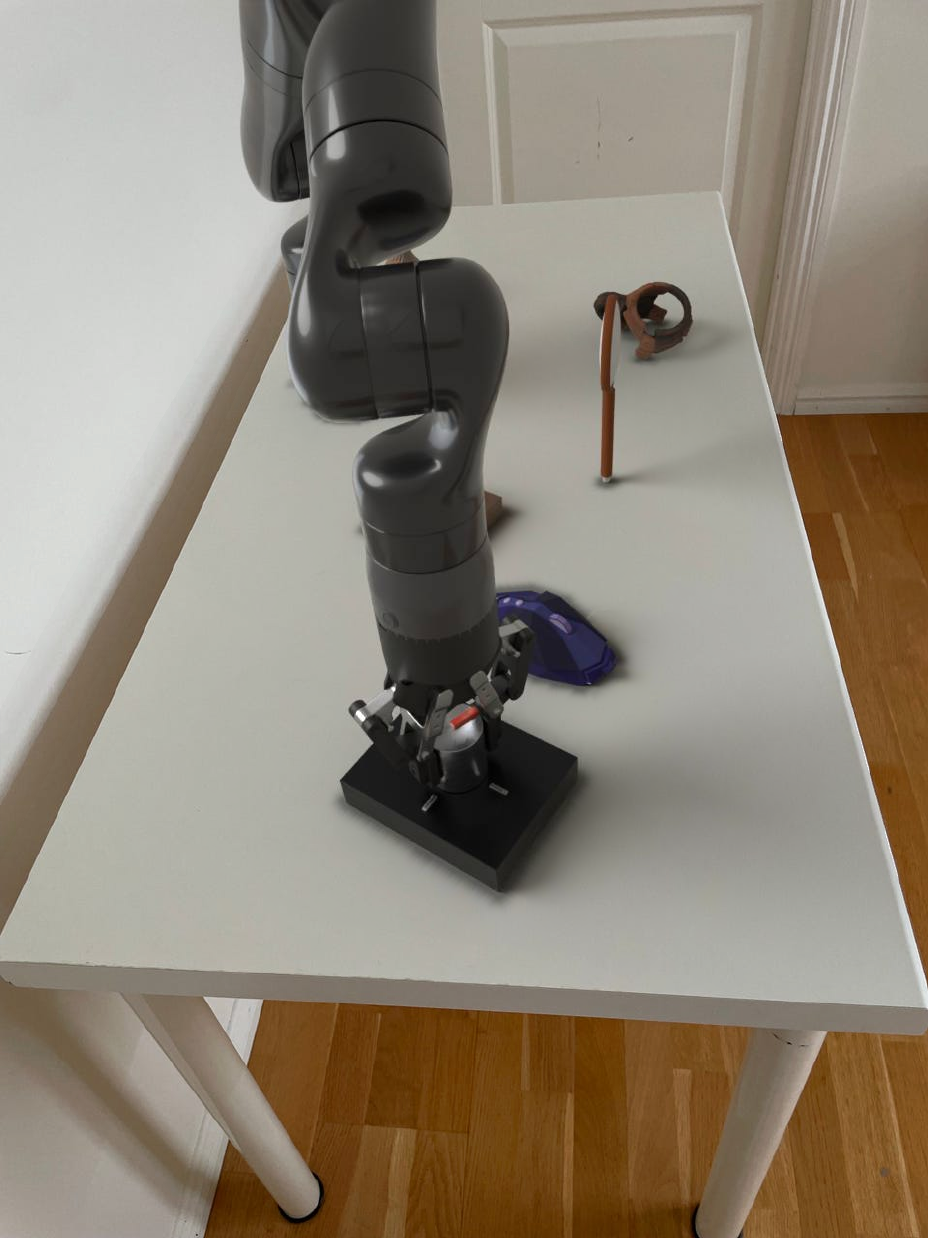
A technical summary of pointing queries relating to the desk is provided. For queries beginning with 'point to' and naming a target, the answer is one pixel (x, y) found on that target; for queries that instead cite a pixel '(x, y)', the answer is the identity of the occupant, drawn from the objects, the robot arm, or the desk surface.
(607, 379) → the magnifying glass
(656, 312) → the brown ring sculpture
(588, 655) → the computer mouse
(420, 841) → the panel
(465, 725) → the hob knob
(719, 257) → the desk surface
